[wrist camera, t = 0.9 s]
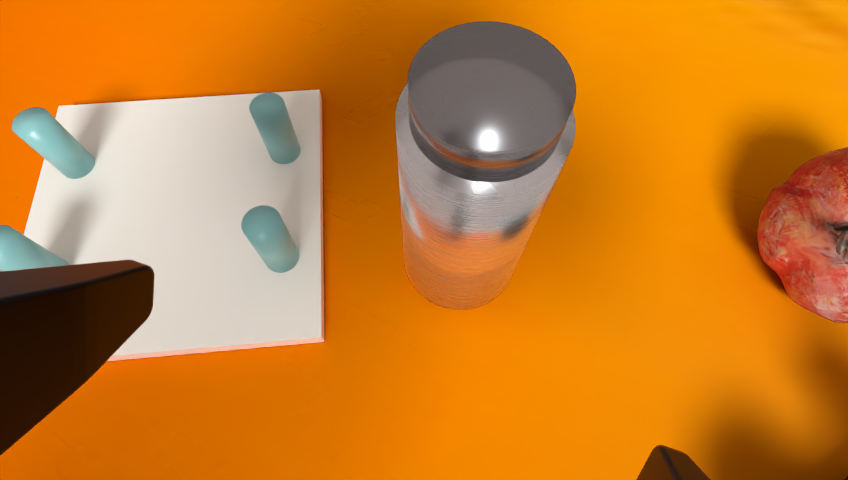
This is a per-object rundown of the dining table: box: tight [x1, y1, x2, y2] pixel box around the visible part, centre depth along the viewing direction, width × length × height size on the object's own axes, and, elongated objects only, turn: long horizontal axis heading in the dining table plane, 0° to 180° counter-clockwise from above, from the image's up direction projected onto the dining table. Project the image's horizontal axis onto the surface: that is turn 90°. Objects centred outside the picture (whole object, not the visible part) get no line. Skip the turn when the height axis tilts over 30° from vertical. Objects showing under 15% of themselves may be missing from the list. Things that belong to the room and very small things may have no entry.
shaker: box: [395, 21, 576, 310], centre depth 19 cm, size 5×5×12 cm
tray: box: [0, 89, 324, 361], centre depth 23 cm, size 14×14×4 cm
